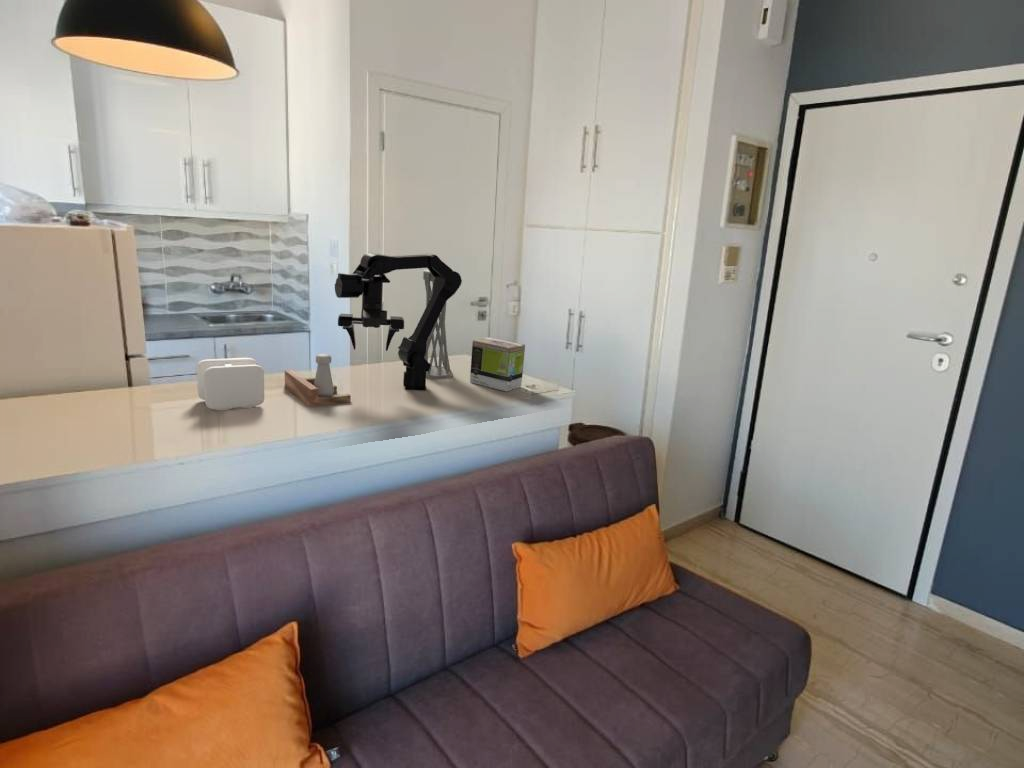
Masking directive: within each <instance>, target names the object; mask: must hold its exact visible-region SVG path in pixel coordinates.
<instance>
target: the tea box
mask: <svg viewBox="0 0 1024 768" xmlns="http://www.w3.org/2000/svg"><path fill="white" fill-rule="evenodd" d="M525 349H526V344H524V343H519V342H513V341H509V340H504V339H499V338H495V337H494V338H493V337H489V336H487V337H483V338H478V339H474V340H472V347H471V359H470V360H471V361H470V373H469V375H470V377H469V382H470V383H472V384H476V385H479V386H484V387H487V388H492V389H495V390H499V391H503V392H509V391H513V390H515V388H516V387H518V386H521V387H522V382H523V375H524V374H523V373H524V363H525V362H524V360H525V352H526V350H525ZM512 389H513V390H512ZM516 389H517V388H516Z"/></svg>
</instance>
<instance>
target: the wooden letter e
mask: <svg viewBox="0 0 1024 768" xmlns="http://www.w3.org/2000/svg"><path fill="white" fill-rule="evenodd" d="M314 382H315V376H313V377H306V378H305V377H304V378H303V377H302V376H301V375H300V374H298V373H297V372H295V371H293V370H291V369H287V370H284V388H286V389H287V390H288V391H289V392H291V393H292V394H293V395H295V396H296V397H297V398H299V399H300V400H301V401H303V402H304V403H305V404H307V405H308V407H311V408H312V407H313V408H314V407H321V406H328V405H337V404H344V403H345V404H346V403H351V394H349V393H343V394H337V393H338V391H337V390H338V386H337V385H336V384H333V388H334V393H333V394H336V395H332V396H325V397H318V388H316V387H315V386H314Z"/></svg>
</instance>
